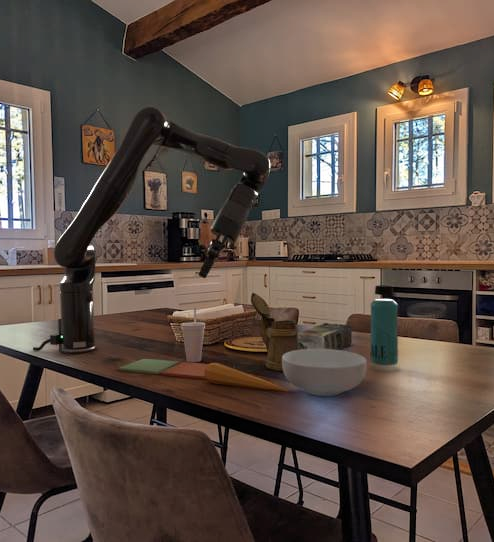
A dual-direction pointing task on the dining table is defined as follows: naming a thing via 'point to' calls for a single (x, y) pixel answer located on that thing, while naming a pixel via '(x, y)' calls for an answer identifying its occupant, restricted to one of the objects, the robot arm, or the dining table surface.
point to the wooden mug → (275, 334)
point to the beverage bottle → (384, 328)
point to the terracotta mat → (187, 370)
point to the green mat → (149, 366)
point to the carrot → (236, 378)
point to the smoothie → (193, 339)
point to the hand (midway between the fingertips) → (202, 274)
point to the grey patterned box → (326, 337)
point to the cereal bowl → (323, 370)
